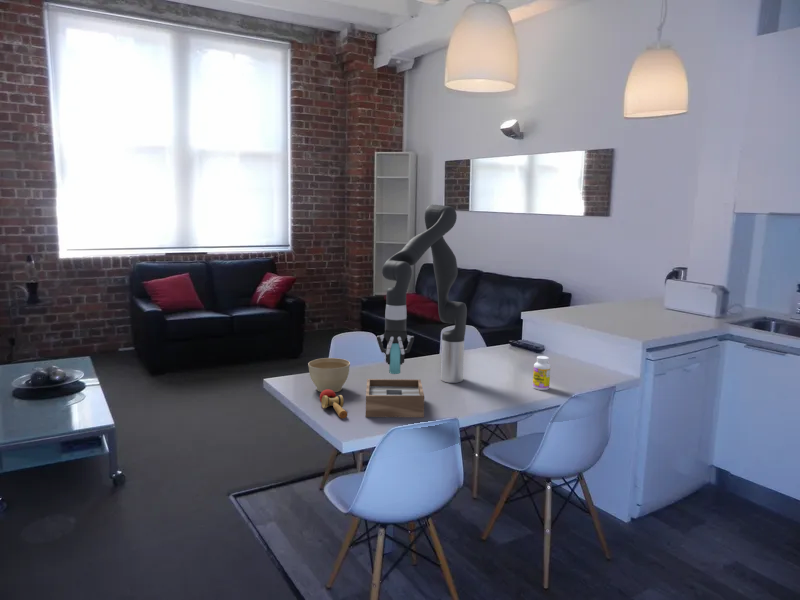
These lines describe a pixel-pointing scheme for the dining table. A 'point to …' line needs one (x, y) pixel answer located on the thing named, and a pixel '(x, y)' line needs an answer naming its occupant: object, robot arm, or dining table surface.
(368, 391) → the bore box
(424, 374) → the dining table surface
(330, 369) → the planter bowl
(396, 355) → the peg
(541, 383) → the supplement bottle
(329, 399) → the kendama
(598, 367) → the dining table surface
